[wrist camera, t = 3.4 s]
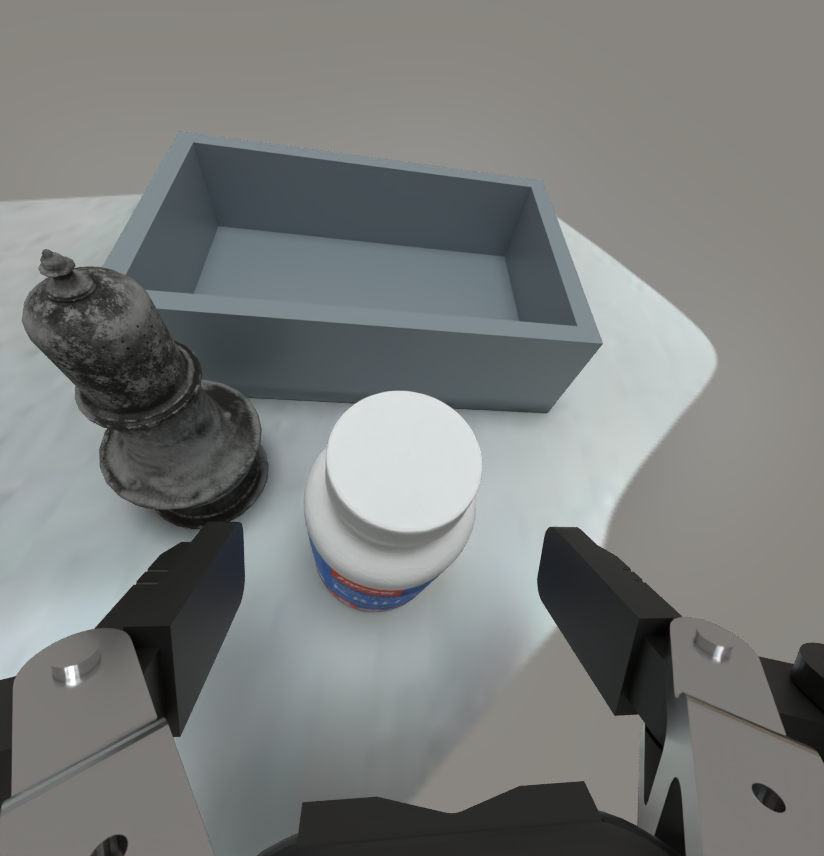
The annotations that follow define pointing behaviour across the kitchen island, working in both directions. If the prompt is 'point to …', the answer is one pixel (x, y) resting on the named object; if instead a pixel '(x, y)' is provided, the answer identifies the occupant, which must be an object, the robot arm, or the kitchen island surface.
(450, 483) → the pill bottle
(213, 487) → the grey stone chess piece
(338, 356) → the tote
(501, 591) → the kitchen island surface
